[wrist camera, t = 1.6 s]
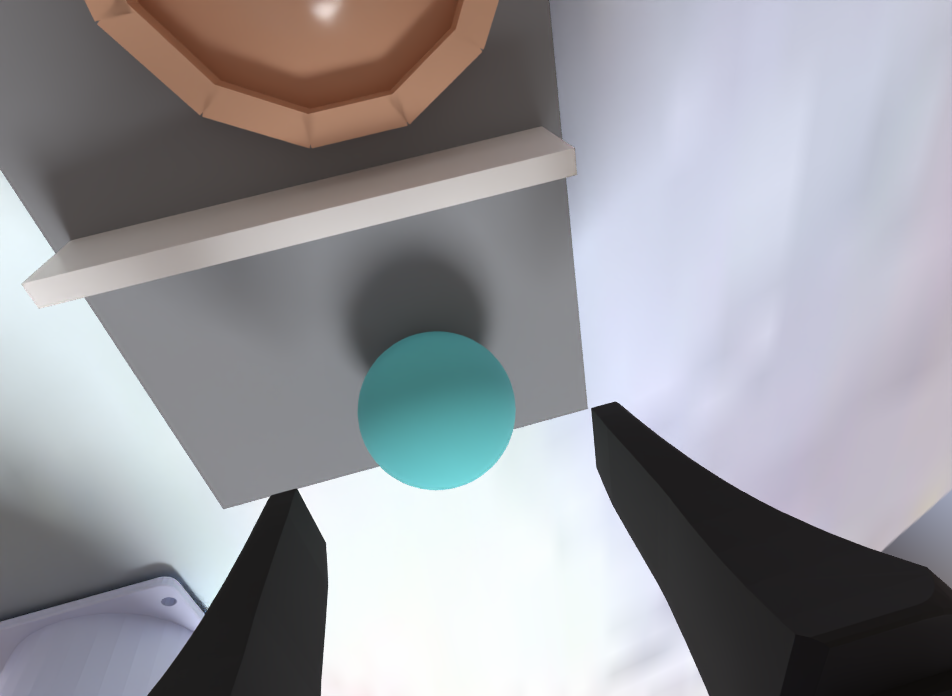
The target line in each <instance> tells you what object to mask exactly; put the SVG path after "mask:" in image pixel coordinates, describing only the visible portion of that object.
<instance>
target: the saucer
mask: <svg viewBox="0 0 952 696" xmlns="http://www.w3.org/2000/svg"><path fill="white" fill-rule="evenodd" d="M85 2H86V4H87V6H88V8H89V11H90V13H91V15H92V17H93V19H94V21H99V22H98V23H97V25H98V26H100V27H101V28H102V29H103V30H104V31H105V32H106V33H108V34H109V35H110V36H111V37H112V38H113V39H114V40H115V41H117V42H118V43H119V44H120V45H121V46H122V47H123V48H124V49H126V50H127V51H128V52H129V53H130V54H131V55H132V56H133V57H135V58H136V59H137V60H138V61H139V62H140V63H141V64H143V65H144V66H145V67H146V68H147V69H148V70H149V71H150V72H152V73H153V74H154V75H155V76H156V77H157V78H158V79H159V80H161V81H162V82H163V83H164V84H165V85H166V86H167V87H168V88H170V89H171V90H172V91H173V92H174V93H175V94H176V95H178V96H179V97H180V98H181V99H182V100H183V101H184V102H185V103H187V104H188V105H189V106H190V107H191V108H192V109H193V110H194V111H196V112H197V113H198V114H199V115H201V114H202V113H203V116H202V117H205V118H208V119H212V120H215V121H219V122H222V123H225V124H229V125H232V126H235V127H239V128H242V129H246V130H249V131H252V132H256V133H259V134H263V135H266V136H269V137H273V138H276V139H279V140H283V141H286V142H290V143H293V144H296V145H300V146H303V147H307V148H310V145H311V147H312V148H316V147H320V146H324V145H328V144H333V143H337V142H341V141H345V140H349V139H354V138H358V137H362V136H366V135H370V134H375V133H379V132H383V131H387V130H391V129H395V128H400V127H404V126H408V125H407V122H408V123H409V124H411V123H412V122H413V121H414V120H415V119H416V118H417V117H418V116H419V115H420V114H421V113H422V112H423V111H424V110H425V109H426V108H427V107H428V106H429V105H430V104H431V103H432V102H433V101H434V100H435V99H436V98H437V97H438V96H439V95H440V94H441V93H442V92H443V91H444V90H445V89H446V88H447V87H448V86H449V85H450V84H451V83H452V82H453V81H454V80H455V79H456V78H457V77H458V76H459V75H460V74H461V73H462V72H463V71H464V70H465V69H466V68H467V67H468V66H469V65H470V64H471V63H472V62H473V61H474V60H475V59H476V58H477V57H478V56H479V55H480V54H481V53H482V50H481V49H484V47H485V44H486V41H487V37H488V34H489V31H490V28H491V24H492V21H493V18H494V15H495V11H496V8H497V5H498V2H499V0H85ZM480 48H481V49H480Z"/></svg>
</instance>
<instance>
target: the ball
mask: <svg viewBox="0 0 952 696" xmlns="http://www.w3.org/2000/svg"><path fill="white" fill-rule="evenodd" d="M515 413H516V407H515V397H514V392H513V389H512V385H511V382H510V380H509V377H508V375H507V373H506V371H505V370H504V368H503V366H502V365H501V364H500V362H499V361H498V360H497V359H496V358H495V356H494V355H493V354H492V353H491V352H490V351H489V350H487V349H486V348H485V347H484V346H482V345H481V344H479V343H477V342H476V341H474V340H472V339H470V338H468V337H465V336H462V335H459V334H455V333H451V332H444V331H432V332H424V333H419V334H415V335H412V336H409V337H407V338H404V339H402V340H400V341H398V342H397V343H395V344H393V345H392V346H391V347H390V348H388V349H387V350H386V351H384V352H383V353H382V354H381V355H380V356H379V357H378V358H377V360H376V361H375V362H374V363H373V365H372V366H371V368H370V369H369V371H368V373H367V375H366V376H365V379H364V381H363V384H362V387H361V390H360V394H359V399H358V422H359V429H360V432H361V436H362V438H363V441H364V444H365V446H366V448H367V450H368V451H369V453H370V455H371V456H372V457H373V459H374V460H375V462H376V463H377V464H378V465H379V466H380V467H381V468H382V469H383V470H384V471H385V472H387V473H388V474H389V475H391V476H392V477H394V478H395V479H397V480H399V481H401V482H402V483H405V484H407V485H410V486H413V487H417V488H421V489H427V490H445V489H451V488H456V487H459V486H462V485H465V484H467V483H470V482H472V481H474V480H475V479H477V478H479V477H480V476H482V475H483V474H484V473H485V472H487V471H488V470H489V469H490V468H491V467H492V466H493V465H494V464H495V463H496V462H497V461H498V459H499V458H500V457H501V455H502V454H503V452H504V451H505V449H506V447H507V445H508V443H509V440H510V438H511V435H512V432H513V428H514V424H515Z"/></svg>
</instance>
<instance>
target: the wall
mask: <svg viewBox="0 0 952 696" xmlns="http://www.w3.org/2000/svg"><path fill="white" fill-rule="evenodd" d="M574 175H577V170H576V158H575V148H574V147H572V146H571V145H569V144H568V143H566V142H565V141H563V140H562V139H560V138H559V137H557V136H556V135H554V134H553V133H551V132H550V131H548V130H547V129H545V128H544V127H542V126H541V127H536V128H532V129H528V130H524V131H520V132H516V133H512V134H508V135H503V136H499V137H495V138H491V139H487V140H483V141H479V142H475V143H470V144H466V145H462V146H458V147H454V148H450V149H446V150H442V151H437V152H433V153H429V154H425V155H421V156H417V157H413V158H408V159H404V160H400V161H396V162H392V163H388V164H384V165H380V166H375V167H371V168H367V169H363V170H359V171H355V172H351V173H347V174H342V175H338V176H334V177H330V178H326V179H322V180H318V181H314V182H309V183H305V184H301V185H297V186H293V187H289V188H285V189H281V190H276V191H272V192H268V193H264V194H260V195H256V196H252V197H248V198H243V199H239V200H235V201H231V202H227V203H223V204H219V205H215V206H210V207H206V208H202V209H198V210H194V211H190V212H186V213H182V214H177V215H173V216H169V217H165V218H161V219H157V220H153V221H149V222H144V223H140V224H136V225H132V226H128V227H124V228H120V229H116V230H111V231H107V232H103V233H99V234H95V235H91V236H87V237H83V238H78V239H74V240H71V241H70V242H68V243H67V244H66V245H65V246H64V247H63V248H62V249H60V250H59V251H58V252H57V253H56V254H55V255H54V256H52V257H51V258H50V259H49V260H48V261H47V262H46V263H44V264H43V265H42V266H41V267H40V268H39V269H38V270H37V271H35V272H34V273H33V274H32V275H31V276H30V277H29V278H27V279H26V280H25V281H24V282H23V283H22V286H23V287H24V289H25V290H26V291H27V293H28V294H29V296H30V297H31V298H32V300H33V301H34V303H35V304H36V305H37V307H38V308H39V309H40V308H44V307H48V306H52V305H56V304H60V303H64V302H68V301H72V300H76V299H80V298H84V297H88V296H92V295H96V294H100V293H104V292H108V291H112V290H116V289H120V288H124V287H128V286H132V285H136V284H140V283H144V282H148V281H152V280H156V279H160V278H164V277H168V276H172V275H176V274H180V273H184V272H189V271H193V270H197V269H201V268H205V267H209V266H213V265H217V264H221V263H225V262H229V261H233V260H237V259H241V258H245V257H249V256H253V255H257V254H261V253H265V252H269V251H273V250H277V249H281V248H285V247H289V246H293V245H297V244H301V243H305V242H309V241H313V240H317V239H321V238H325V237H329V236H333V235H337V234H341V233H345V232H349V231H353V230H357V229H361V228H365V227H369V226H373V225H377V224H381V223H385V222H389V221H393V220H398V219H402V218H406V217H410V216H414V215H418V214H422V213H426V212H430V211H434V210H438V209H442V208H446V207H450V206H454V205H458V204H462V203H466V202H470V201H474V200H478V199H482V198H486V197H490V196H494V195H498V194H502V193H506V192H510V191H514V190H518V189H522V188H526V187H530V186H534V185H538V184H542V183H546V182H550V181H554V180H558V179H562V178H566V177H570V176H574Z"/></svg>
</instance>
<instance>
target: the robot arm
mask: <svg viewBox="0 0 952 696" xmlns="http://www.w3.org/2000/svg"><path fill="white" fill-rule="evenodd" d="M591 411H592V422H593V434H594V445H595V456H596V467H597V470H598V472H599V475H600V477H601V479H602V482H603V484H604V487H605V489H606V491H607V493H608V496H609V498H610V500H611V503H612V505H613V507H614V508H615V510H616V512H617V514H618V515H619V517H620V519H621V521H622V522H623V524H624V526H625V528H626V529H627V531H628V533H629V535H630V536H631V538H632V540H633V541H634V543H635V545H636V547H637V548H638V550H639V552H640V554H641V555H642V557H643V559H644V560H645V562H646V564H647V566H648V567H649V569H650V571H651V573H652V574H653V576H654V578H655V579H656V581H657V583H658V585H659V587H660V589H661V590H662V592H663V594H664V596H665V598H666V600H667V602H668V604H669V606H670V608H671V611H672V613H673V615H674V617H675V619H676V622H677V624H678V626H679V628H680V630H681V632H682V635H683V637H684V639H685V641H686V643H687V646H688V648H689V650H690V653H691V655H692V657H693V659H694V662H695V664H696V666H697V668H698V671H699V673H700V675H701V677H702V680H703V682H704V684H705V687H706V689H707V691H708V694H709V696H952V589H951V588H950V587H949V586H947V584H945V583H944V582H943V581H942V580H941V579H940V578H938V577H937V576H936V575H935V574H934V573H933V572H932V571H930V570H929V569H928V568H927V567H924V566H921V565H918V564H915V563H912V562H909V561H906V560H903V559H900V558H897V557H894V556H891V555H888V554H885V553H882V552H879V551H876V550H873V549H870V548H867V547H864V546H862V545H859V544H856V543H854V542H851V541H849V540H846V539H844V538H841V537H838V536H836V535H833V534H831V533H828V532H826V531H824V530H821V529H819V528H816V527H814V526H812V525H810V524H808V523H805V522H803V521H801V520H799V519H797V518H794V517H792V516H790V515H788V514H786V513H783V512H781V511H779V510H777V509H775V508H773V507H771V506H769V505H767V504H765V503H763V502H761V501H759V500H758V499H756V498H754V497H752V496H750V495H748V494H747V493H745V492H743V491H741V490H739V489H738V488H736V487H734V486H733V485H731V484H729V483H728V482H726V481H724V480H723V479H721V478H719V477H718V476H716V475H715V474H713V473H712V472H710V471H708V470H707V469H705V468H704V467H702V466H701V465H699V464H698V463H696V462H695V461H693V460H692V459H690V458H689V457H687V456H686V455H685V454H683V453H682V452H681V451H679V450H678V449H676V448H675V447H674V446H672V445H671V444H669V443H668V442H667V441H665V440H664V439H663V438H661V437H660V436H659V435H657V434H656V433H655V432H654V431H652V430H651V429H650V428H648V427H647V426H646V425H645V424H643V423H642V422H641V421H640V420H638V419H637V418H636V417H635V416H633V415H632V414H631V413H630V412H629V411H627V410H626V409H625V408H624V407H623V406H621V405H620V404H619V403H617V402H612V403H608V404H605V405H601V406H597V407H594V408H591ZM327 594H328V571H327V554H326V542H325V540H324V538H323V537H322V535H321V533H320V531H319V529H318V527H317V525H316V523H315V522H314V520H313V518H312V516H311V514H310V512H309V510H308V508H307V507H306V505H305V503H304V501H303V499H302V497H301V495H300V493H299V491H298V490H297V488H296V489H292V490H288V491H285V492H281V493H277V494H274V495H271V496H270V498H269V499H268V501H267V503H266V505H265V507H264V509H263V511H262V513H261V515H260V517H259V519H258V520H257V522H256V524H255V526H254V528H253V530H252V532H251V534H250V536H249V538H248V540H247V542H246V544H245V546H244V547H243V549H242V551H241V553H240V555H239V557H238V558H237V560H236V562H235V564H234V566H233V567H232V569H231V571H230V573H229V575H228V577H227V578H226V580H225V582H224V584H223V585H222V587H221V589H220V590H219V592H218V594H217V595H216V597H215V599H214V600H213V602H212V603H211V605H210V607H209V608H208V610H207V612H206V613H205V614H204V613H203V611H202V610H201V609H200V608H199V606H198V605H197V604H196V603H195V601H194V600H193V599H192V598H191V597H190V595H189V594H188V593H187V592H186V590H185V589H184V588H183V587H182V585H181V584H180V583H179V582H178V581H177V580H176V579H174V578H172V577H166V576H163V577H158V578H154V579H151V580H147V581H144V582H140V583H137V584H133V585H129V586H126V587H122V588H119V589H115V590H112V591H108V592H104V593H101V594H97V595H94V596H90V597H87V598H83V599H80V600H76V601H72V602H69V603H65V604H62V605H58V606H55V607H51V608H47V609H44V610H40V611H37V612H33V613H30V614H26V615H23V616H19V617H15V618H12V619H8V620H5V621H1V622H0V696H321V677H322V664H323V650H324V637H325V624H326V609H327Z"/></svg>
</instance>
